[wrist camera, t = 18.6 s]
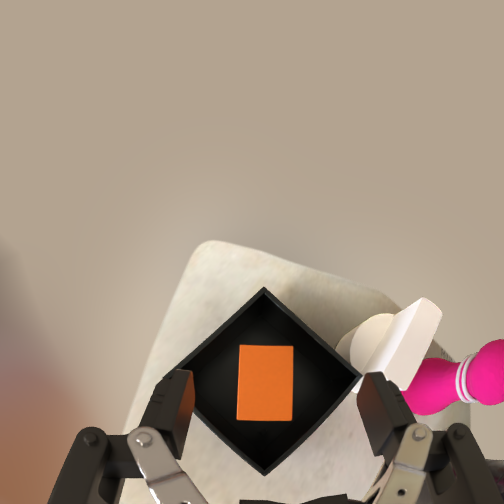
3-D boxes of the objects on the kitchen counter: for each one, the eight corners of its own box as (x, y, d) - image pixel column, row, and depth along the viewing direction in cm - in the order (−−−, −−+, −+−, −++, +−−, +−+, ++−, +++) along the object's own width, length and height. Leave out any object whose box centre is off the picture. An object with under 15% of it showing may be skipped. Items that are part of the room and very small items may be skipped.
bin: (336, 380, 30) (363, 375, 22) (260, 455, 25) (264, 476, 18) (260, 310, 34) (263, 286, 27) (183, 381, 30) (162, 377, 22)
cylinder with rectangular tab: (358, 313, 34) (400, 276, 23) (406, 349, 31) (462, 327, 21) (319, 368, 31) (354, 356, 20) (372, 406, 28) (426, 408, 17)
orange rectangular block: (280, 358, 31) (293, 345, 22) (279, 411, 28) (292, 420, 19) (242, 357, 31) (240, 344, 22) (240, 410, 28) (236, 419, 19)
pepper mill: (412, 353, 31) (523, 301, 13) (438, 386, 28) (551, 356, 11) (378, 390, 29) (496, 368, 11) (407, 425, 26) (525, 423, 9)
